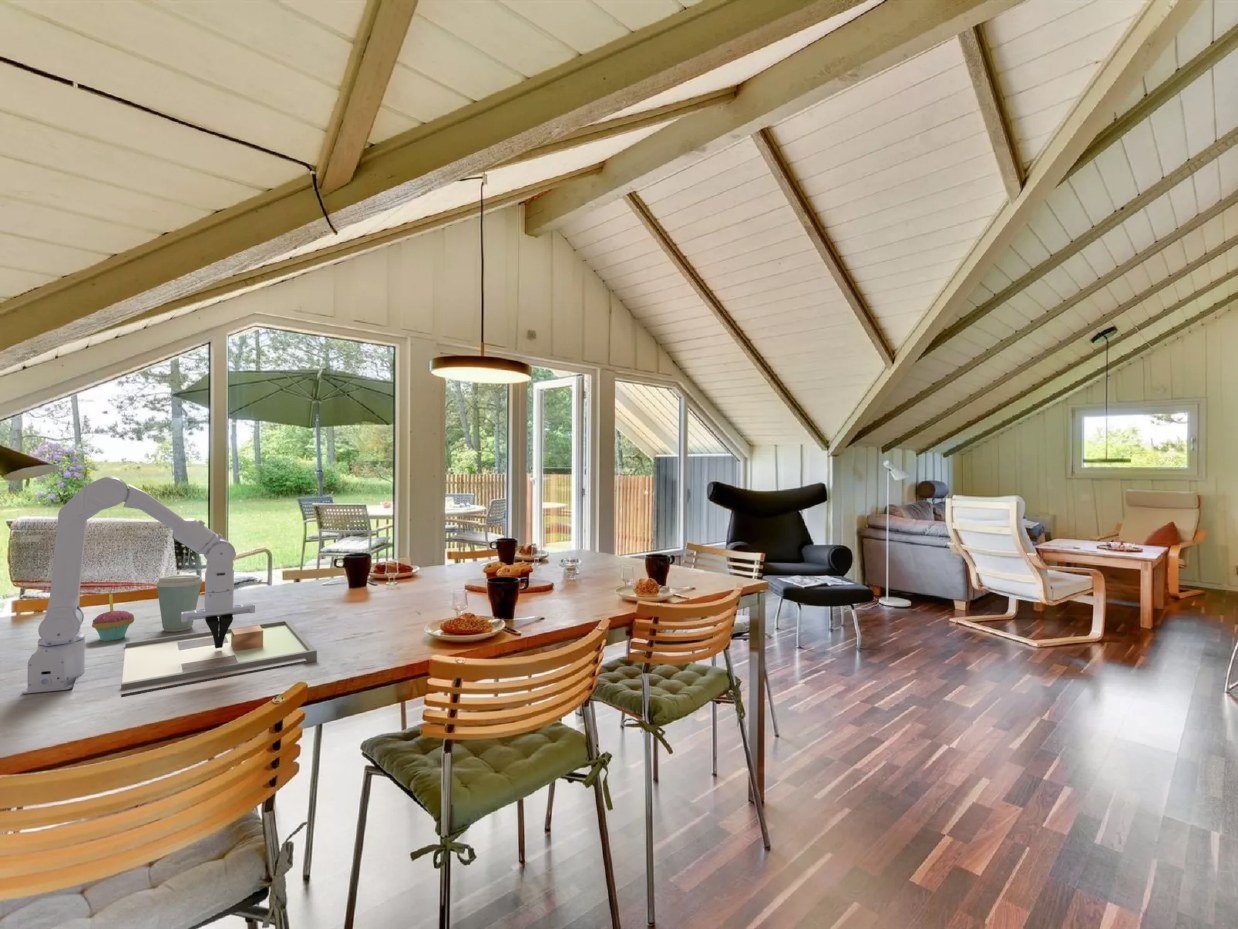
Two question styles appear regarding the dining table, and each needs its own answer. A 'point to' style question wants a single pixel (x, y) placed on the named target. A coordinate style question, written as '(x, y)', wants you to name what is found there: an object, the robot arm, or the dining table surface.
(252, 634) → the block
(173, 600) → the disposable coffee cup
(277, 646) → the sectioned serving tray
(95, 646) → the dining table surface
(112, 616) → the cupcake
